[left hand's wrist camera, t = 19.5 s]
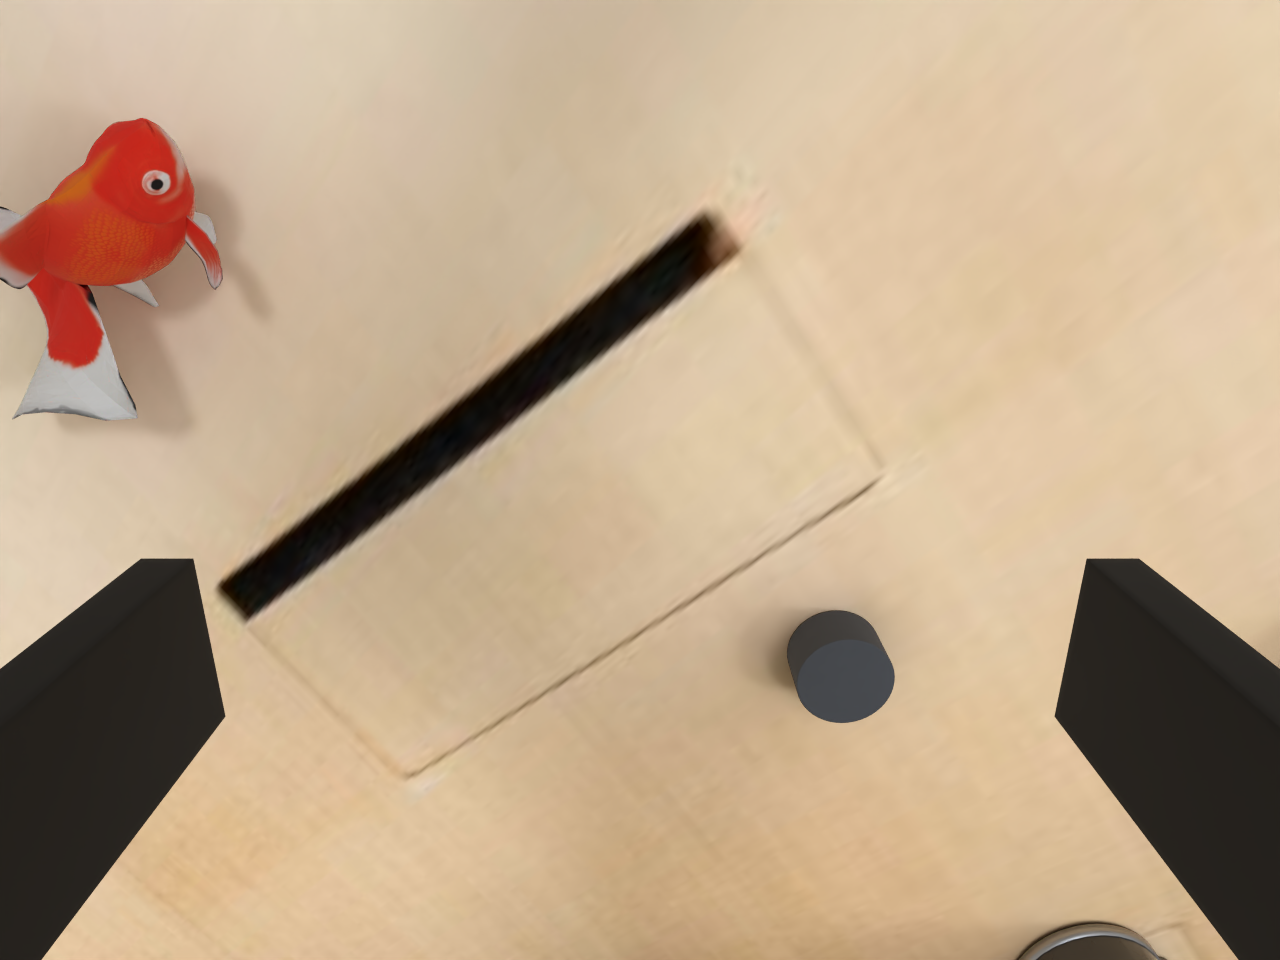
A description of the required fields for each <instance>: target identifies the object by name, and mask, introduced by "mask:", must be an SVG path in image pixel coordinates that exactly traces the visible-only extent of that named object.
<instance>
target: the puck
mask: <svg viewBox="0 0 1280 960" xmlns="http://www.w3.org/2000/svg"><path fill="white" fill-rule="evenodd" d="M787 658H788V663H789V666H790V670H791V673H792V676H793V680H794V683H795V686H796V690H797V693H798V696H799V699H800V701H801V702H802V704H803V705H804V707H805V708H806V709H807V710H808V711H809V712H811V713H812V714H813V715H815V716H817V717H818V718H821V719H823V720H826V721H829V722H835V723H848V722H854V721H858V720H861V719H863V718H866V717H868V716H870V715H872V714H873V713H875V712H876V711H877V710H878V709H880V708H881V707H882V706H883V705H884V704H885V702H886V701H887V700H888V698H889V696H890V694H891V692H892V689H893V686H894V678H895V676H894V669H893V665H892V663H891V661H890V659H889V657H888V655H887V653H886V651H885V649H884V647H883V645H882V643H881V641H880V639H879V637H878V635H877V633H876V631H875V630H874V628H873V627H872V626H871V625H870V623H869V622H867V621H866V620H865V619H864V618H862V617H860V616H858V615H856V614H854V613H850V612H846V611H828V612H823V613H820V614H817V615H815V616H812V617H811V618H809V619H807V620H806V621H804V622H803V623H802V624H801V625H800V626H799V627H798V628H797V629H796V630H795V632H794V633H793V635H792V637H791V639H790V641H789V645H788V650H787Z"/></svg>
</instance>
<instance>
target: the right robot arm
mask: <svg viewBox="0 0 1280 960" xmlns="http://www.w3.org/2000/svg"><path fill="white" fill-rule="evenodd" d="M1019 960H1166V959H1162V958H1159V957H1158V956H1157V954H1156V953H1155V951H1154V950H1153V948H1152V947H1151V945H1150V944H1149V943H1148V942H1147V941H1146V940H1145V939H1144V938H1143V937H1141V936H1140V935H1138V934H1137V933H1135V932H1133V931H1131V930H1128V929H1126V928H1123V927H1119V926H1115V925H1108V924H1086V925H1079V926H1074V927H1070V928H1066V929H1063V930H1060V931H1058V932H1055V933H1053V934H1051V935H1049V936H1047V937H1045V938H1043V939H1042V940H1040V941H1039V942H1037V943H1036V944H1034V945H1033V946H1032V947H1031V948H1029V949H1028V950H1027V951H1026V952H1025V953H1024V954H1023V956H1022V957H1021V958H1020V959H1019Z"/></svg>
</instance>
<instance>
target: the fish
mask: <svg viewBox="0 0 1280 960" xmlns="http://www.w3.org/2000/svg"><path fill="white" fill-rule="evenodd" d="M195 207H196V206H195V196H194V187H193V184H192V181H191V178H190V176H189V173H188V170H187V167H186V164H185V162H184V159H183V157H182V155H181V152H180V150H179V148H178V147H177V145H176V143H175V142H174V140H173V139H172V138H171V137H170V136H169V135H168V134H167V133H166V132H165V131H164V130H163V129H162V128H161V127H160V126H158V125H157V124H155V123H153V122H151V121H149V120H147V119H144V118H140V119H137V120H133V121H123V122H116V123H113V124H112V125H110V126H109V127H108V128H107V129H106V130H105V131H104V133H103V134H102V135H101V136H100V137H99V138H98V139H97V140H96V142H95V143H94V144H93V146H92V148H91V150H90V152H89V154H88V156H87V159H86V162H85V163H84V165H82V166H81V167H80V168H79V169H77V170H76V171H74V172H73V173H72V174H70V175H69V176H68V177H66V178H65V179H64V180H63V181H62V182H61V183H60V184H59V185H58V187H57V188H56V189H55V191H54V192H53V193H52V194H51V196H50V198H49V199H48V200H46V201H44V202H42V203H41V204H39V205H37V206H36V207H34V208H33V209H31V210H30V211H29V212H27V213H26V214H24V215H23V216H21V215H19V214H17V213H15V212H13V211H11V210H9V209H6V208H3V207H0V279H1V280H2V281H4V282H5V283H6V284H8V285H10V286H11V287H13V288H17V289H21V288H23V287H25V286H26V285H27V286H28V288H29V289H30V290H31V292H32V294H33V295H34V297H35V299H36V301H37V302H38V304H39V306H40V308H41V310H42V312H43V315H44V318H45V321H46V326H47V343H46V347H45V350H44V352H43V355H42V357H41V360H40V362H39V365H38V367H37V369H36V371H35V373H34V376H33V378H32V380H31V382H30V384H29V386H28V389H27V391H26V393H25V396H24V398H23V400H22V402H21V404H20V406H19V408H18V410H17V412H16V413H15V415H14V417H13V418H12V419H14V418H16V417H18V416H20V415H22V414H30V413H42V412H49V413H66V414H77V415H82V416H87V417H91V418H96V419H101V420H105V421H106V420H119V419H132V418H138V417H137V412H136V406H135V403H134V401H133V400H132V398H131V396H130V394H129V392H128V390H127V388H126V386H125V384H124V382H123V380H122V378H121V376H120V373H119V370H118V367H117V364H116V361H115V358H114V355H113V352H112V349H111V346H110V343H109V340H108V337H107V334H106V332H105V329H104V326H103V323H102V320H101V317H100V314H99V312H98V309H97V306H96V303H95V300H94V297H93V294H92V292H91V290H90V289H89V287H88V285H95V286H111V285H113V286H115V287H117V288H119V289H121V290H123V291H126V292H128V293H130V294H132V295H134V296H136V297H137V298H139V299H141V300H143V301H145V302H146V303H148V304H150V305H152V306H153V307H157V306H159V305H158V303H157V302H156V300H155V298H154V297H153V295H152V293H151V291H150V290H149V288H148V287H147V285H146V284H145V283H144V282H143V281H142V279H144V278H146V277H148V276H150V275H152V274H153V273H155V272H157V271H159V270H160V269H162V268H164V267H165V266H167V265H168V264H169V263H170V262H171V261H172V260H173V259H174V258H175V256H176V255H177V254H178V252H179V251H180V250H181V248H182V247H183V246H184V244H185V242H186V243H187V244H188V245H189V246H190V248H191V249H192V250H193V251H194V252H195V253H196V254H197V255H198V256H199V258H200V259H201V260H202V262H203V264H204V267H205V270H206V273H207V277H208V280H209V283H210V285H211V286H212V287H213V288H214V289H216V288H217V287H218V286H219V285H220V283H221V281H222V279H223V278H222V268H221V266H220V258H219V254H218V251H217V249H216V248H215V246H214V244H215V243H216V241H217V238H216V233H215V230H214V227H213V223H212V221H211V219H210V217H209V216H207V215H206V214H203V213H198V212H196V211H195Z"/></svg>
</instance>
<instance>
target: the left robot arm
mask: <svg viewBox="0 0 1280 960" xmlns="http://www.w3.org/2000/svg"><path fill="white" fill-rule="evenodd" d="M224 718H225V712H224V707H223V702H222V697H221V693H220V688H219V683H218V678H217V673H216V668H215V663H214V658H213V653H212V648H211V643H210V639H209V634H208V629H207V624H206V619H205V614H204V609H203V604H202V599H201V594H200V589H199V584H198V580H197V575H196V570H195V565H194V560H193V559H140V560H139V561H138V562H136V563H135V564H134V565H132V566H131V567H130V568H129V569H127V570H126V571H125V572H124V573H122V574H121V575H120V576H118V577H117V578H116V579H115V580H113V581H112V582H111V583H109V584H108V585H107V586H106V587H104V588H103V589H102V590H101V591H99V592H98V593H97V594H95V595H94V596H93V597H92V598H90V599H89V600H88V601H86V602H85V603H84V604H83V605H81V606H80V607H79V608H78V609H76V610H75V611H74V612H72V613H71V614H70V615H69V616H67V617H66V618H65V619H63V620H62V621H61V622H60V623H58V624H57V625H56V626H55V627H53V628H52V629H51V630H49V631H48V632H47V633H46V634H44V635H43V636H42V637H41V638H39V639H38V640H37V641H35V642H34V643H33V644H32V645H30V646H29V647H28V648H26V649H25V650H24V651H23V652H21V653H20V654H19V655H18V656H16V657H15V658H14V659H12V660H11V661H10V662H9V663H7V664H6V665H5V666H3V667H2V668H1V669H0V960H42V958H43V957H44V956H45V954H46V953H47V952H48V950H49V949H50V948H51V946H52V945H53V944H54V942H55V941H56V940H57V938H58V937H59V936H60V934H61V933H62V932H63V930H64V929H65V928H66V926H67V925H68V924H69V923H70V921H71V920H72V919H73V917H74V916H75V915H76V913H77V912H78V911H79V909H80V908H81V907H82V905H83V904H84V903H85V901H86V900H87V899H88V897H89V896H90V895H91V893H92V892H93V891H94V889H95V888H96V887H97V885H98V884H99V883H100V882H101V880H102V879H103V878H104V876H105V875H106V874H107V872H108V871H109V870H110V868H111V867H112V866H113V864H114V863H115V862H116V860H117V859H118V858H119V856H120V855H121V854H122V852H123V851H124V850H125V848H126V847H127V846H128V844H129V843H130V842H131V841H132V839H133V838H134V837H135V835H136V834H137V833H138V831H139V830H140V829H141V827H142V826H143V825H144V823H145V822H146V821H147V819H148V818H149V817H150V815H151V814H152V813H153V811H154V810H155V809H156V807H157V806H158V805H159V803H160V802H161V801H162V800H163V798H164V797H165V796H166V794H167V793H168V792H169V790H170V789H171V788H172V786H173V785H174V784H175V782H176V781H177V780H178V778H179V777H180V776H181V774H182V773H183V772H184V770H185V769H186V768H187V766H188V765H189V764H190V763H191V761H192V760H193V759H194V757H195V756H196V755H197V753H198V752H199V751H200V749H201V748H202V747H203V745H204V744H205V743H206V741H207V740H208V739H209V737H210V736H211V735H212V733H213V732H214V731H215V729H216V728H217V727H218V725H219V724H220V723H221V722H222V720H223V719H224ZM1055 718H1056V719H1057V720H1058V722H1059V723H1060V724H1061V725H1062V727H1063V728H1064V729H1065V731H1066V732H1067V733H1068V735H1069V736H1070V737H1071V739H1072V740H1073V741H1074V743H1075V744H1076V745H1077V747H1078V748H1079V749H1080V751H1081V752H1082V753H1083V755H1084V756H1085V757H1086V759H1087V760H1088V761H1089V763H1090V764H1091V765H1092V766H1093V768H1094V769H1095V770H1096V772H1097V773H1098V774H1099V776H1100V777H1101V778H1102V780H1103V781H1104V782H1105V784H1106V785H1107V786H1108V788H1109V789H1110V790H1111V792H1112V793H1113V794H1114V796H1115V797H1116V798H1117V800H1118V801H1119V802H1120V804H1121V805H1122V806H1123V807H1124V809H1125V810H1126V811H1127V813H1128V814H1129V815H1130V817H1131V818H1132V819H1133V821H1134V822H1135V823H1136V825H1137V826H1138V827H1139V829H1140V830H1141V831H1142V833H1143V834H1144V835H1145V837H1146V838H1147V839H1148V841H1149V842H1150V843H1151V844H1152V846H1153V847H1154V848H1155V850H1156V851H1157V852H1158V854H1159V855H1160V856H1161V858H1162V859H1163V860H1164V862H1165V863H1166V864H1167V866H1168V867H1169V868H1170V870H1171V871H1172V872H1173V874H1174V875H1175V876H1176V878H1177V879H1178V880H1179V882H1180V883H1181V884H1182V885H1183V887H1184V888H1185V889H1186V891H1187V892H1188V893H1189V895H1190V896H1191V897H1192V899H1193V900H1194V901H1195V903H1196V904H1197V905H1198V907H1199V908H1200V909H1201V911H1202V912H1203V913H1204V915H1205V916H1206V917H1207V919H1208V920H1209V921H1210V923H1211V924H1212V925H1213V926H1214V928H1215V929H1216V930H1217V932H1218V933H1219V934H1220V936H1221V937H1222V938H1223V940H1224V941H1225V942H1226V944H1227V945H1228V946H1229V948H1230V949H1231V950H1232V952H1233V953H1234V954H1235V956H1236V957H1237V958H1238V960H1280V669H1279V668H1278V667H1277V666H1275V665H1274V664H1273V663H1271V662H1270V661H1269V660H1268V659H1266V658H1265V657H1264V656H1262V655H1261V654H1260V653H1259V652H1257V651H1256V650H1255V649H1254V648H1252V647H1251V646H1250V645H1248V644H1247V643H1246V642H1245V641H1243V640H1242V639H1241V638H1239V637H1238V636H1237V635H1236V634H1234V633H1233V632H1232V631H1231V630H1229V629H1228V628H1227V627H1225V626H1224V625H1223V624H1222V623H1220V622H1219V621H1218V620H1217V619H1215V618H1214V617H1213V616H1211V615H1210V614H1209V613H1208V612H1206V611H1205V610H1204V609H1202V608H1201V607H1200V606H1199V605H1197V604H1196V603H1195V602H1194V601H1192V600H1191V599H1190V598H1188V597H1187V596H1186V595H1185V594H1183V593H1182V592H1181V591H1179V590H1178V589H1177V588H1176V587H1174V586H1173V585H1172V584H1171V583H1169V582H1168V581H1167V580H1165V579H1164V578H1163V577H1162V576H1160V575H1159V574H1158V573H1156V572H1155V571H1154V570H1153V569H1151V568H1150V567H1149V566H1148V565H1146V564H1145V563H1144V562H1142V561H1141V560H1140V559H1087V560H1086V565H1085V570H1084V575H1083V580H1082V584H1081V589H1080V594H1079V599H1078V604H1077V609H1076V614H1075V619H1074V624H1073V629H1072V634H1071V639H1070V643H1069V648H1068V653H1067V658H1066V663H1065V668H1064V673H1063V678H1062V683H1061V688H1060V693H1059V697H1058V702H1057V707H1056V712H1055Z"/></svg>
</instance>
